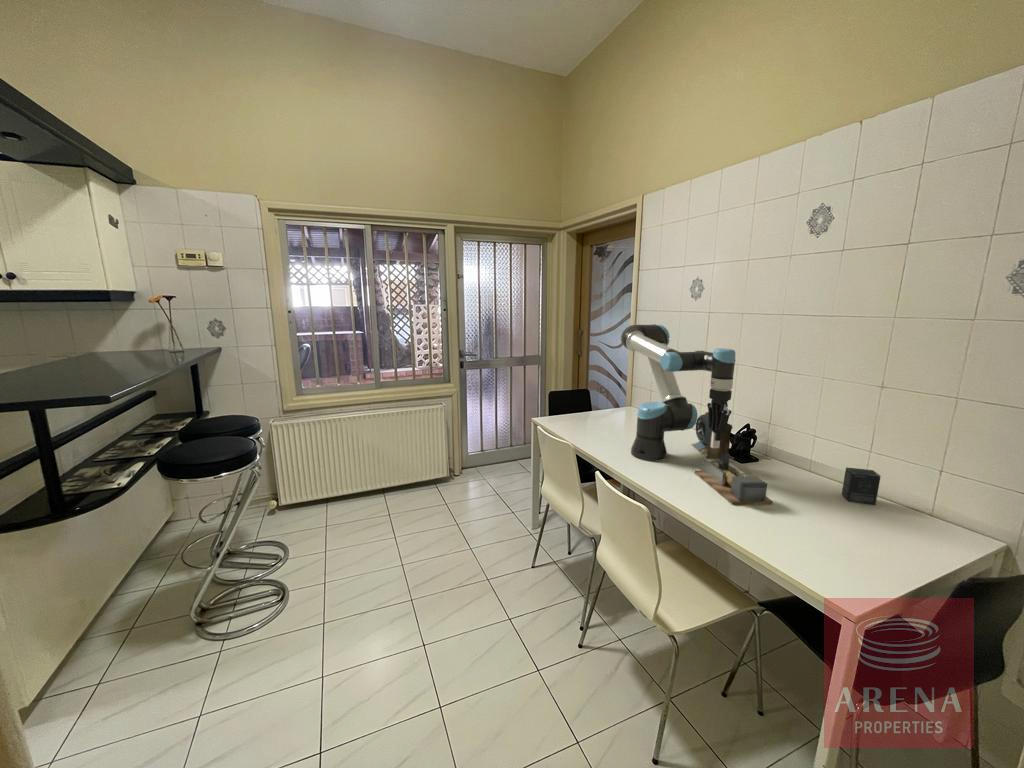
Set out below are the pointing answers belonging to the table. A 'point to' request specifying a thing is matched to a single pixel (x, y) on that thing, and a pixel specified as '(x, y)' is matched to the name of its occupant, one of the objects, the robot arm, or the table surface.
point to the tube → (725, 466)
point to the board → (726, 490)
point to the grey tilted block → (719, 470)
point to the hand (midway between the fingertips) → (714, 447)
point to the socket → (748, 488)
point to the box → (860, 485)
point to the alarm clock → (702, 433)
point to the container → (724, 443)
